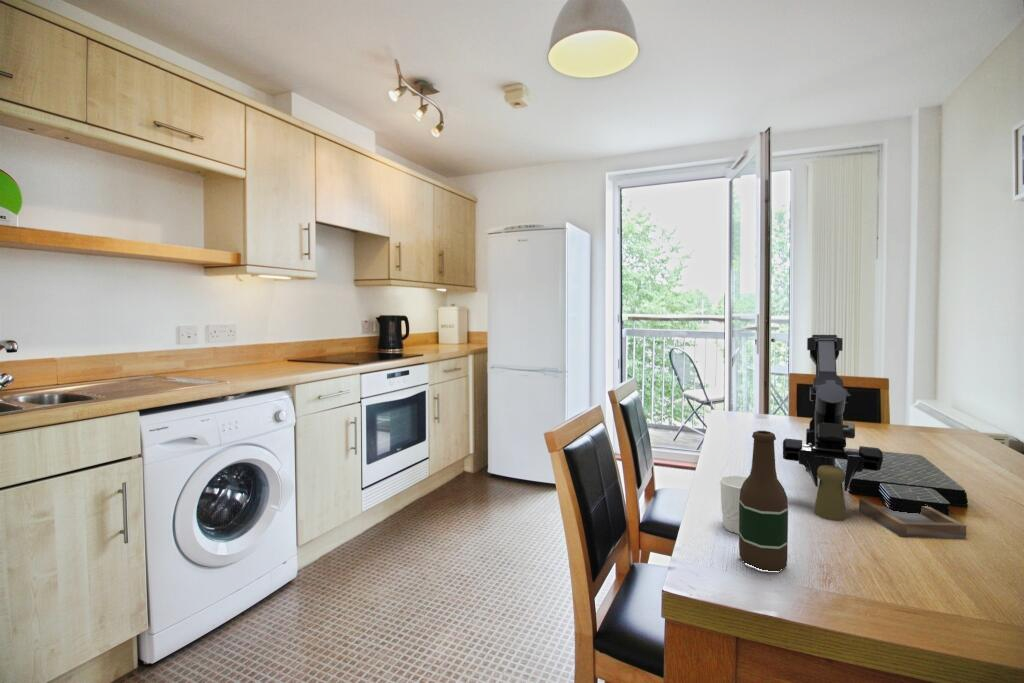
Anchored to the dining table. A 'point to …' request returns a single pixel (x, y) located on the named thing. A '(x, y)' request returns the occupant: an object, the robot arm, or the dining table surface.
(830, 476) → the cork
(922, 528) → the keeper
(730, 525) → the white cup
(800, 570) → the dining table surface
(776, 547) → the beer bottle
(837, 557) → the dining table surface
